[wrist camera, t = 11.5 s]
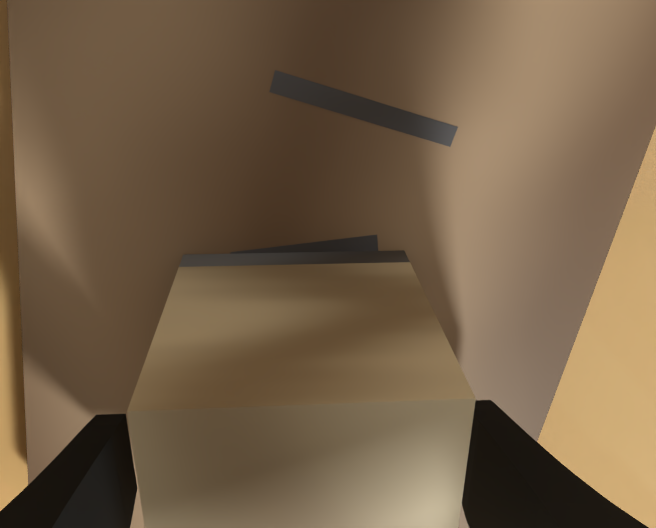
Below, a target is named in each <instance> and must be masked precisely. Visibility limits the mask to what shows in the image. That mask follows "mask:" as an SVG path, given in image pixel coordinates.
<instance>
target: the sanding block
mask: <svg viewBox="0 0 656 528" xmlns="http://www.w3.org/2000/svg"><path fill="white" fill-rule="evenodd" d="M475 401H476V398H475V396H474V394H473V392H472V389H471V387H470V385H469V383H468V381H467V379H466V377H465V375H464V373H463V371H462V369H461V367H460V365H459V363H458V361H457V358H456V356H455V354H454V352H453V350H452V348H451V346H450V344H449V342H448V340H447V338H446V336H445V334H444V332H443V330H442V327H441V325H440V323H439V321H438V319H437V317H436V315H435V313H434V311H433V309H432V307H431V305H430V303H429V301H428V298H427V296H426V294H425V292H424V290H423V288H422V286H421V284H420V282H419V280H418V278H417V276H416V274H415V272H414V270H413V267H412V265H411V263H410V261H409V259H408V257H407V255H406V253H405V251H404V250H397V251H345V252H292V253H239V254H186V255H183V257H182V259H181V262H180V265H179V268H178V271H177V273H176V276H175V279H174V282H173V285H172V287H171V290H170V293H169V296H168V298H167V301H166V304H165V307H164V310H163V312H162V315H161V318H160V321H159V324H158V326H157V329H156V332H155V335H154V337H153V340H152V343H151V346H150V349H149V351H148V354H147V357H146V360H145V363H144V365H143V368H142V371H141V374H140V376H139V379H138V382H137V385H136V388H135V390H134V393H133V396H132V399H131V401H130V404H129V407H128V410H127V415H128V422H129V428H130V435H131V441H132V448H133V454H134V461H135V467H136V474H137V480H138V487H139V493H140V500H141V506H142V513H143V519H144V526H145V528H458V526H459V519H460V511H461V504H462V497H463V489H464V482H465V475H466V467H467V460H468V453H469V445H470V438H471V430H472V423H473V416H474V408H475Z"/></svg>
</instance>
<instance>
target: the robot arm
mask: <svg viewBox="0 0 656 528" xmlns="http://www.w3.org/2000/svg"><path fill="white" fill-rule="evenodd" d="M136 493H137V483H136V476H135V470H134V463H133V457H132V450H131V444H130V437H129V431H128V424H127V418H126V414H101V415H95V416H94V417H93V418H92V419H91V420H90V421H89V422H88V423H87V424H86V425H85V426H84V428H83V429H82V430H81V431H80V432H79V433H78V434H77V435H76V436H75V437H74V438H73V439H72V440H71V441H70V443H69V444H68V445H67V446H66V447H65V448H64V449H63V450H62V451H61V452H60V453H59V454H58V455H57V456H56V457H55V458H54V459H53V461H52V462H51V463H50V464H49V465H48V466H47V467H46V468H45V469H44V470H43V471H42V472H41V473H40V474H39V475H38V476H37V477H36V478H35V479H34V480H33V481H32V482H31V483H30V484H29V485H28V486H27V487H26V488H25V489H24V490H23V491H22V492H21V493H20V494H19V495H18V496H16V497H15V498H14V499H13V500H12V501H11V502H10V503H9V504H8V505H7V506H6V507H5V508H4V509H2V510H1V511H0V528H130V526H131V521H132V516H133V510H134V505H135V499H136ZM462 507H463V510H464V514H465V518H466V520H467V523H468V526H469V528H648V527H647V526H645V525H644V524H642V523H641V522H639V521H638V520H636V519H635V518H633V517H632V516H630V515H629V514H627V513H626V512H624V511H623V510H621V509H620V508H619V507H617V506H616V505H614V504H613V503H611V502H610V501H609V500H607V499H606V498H605V497H603V496H602V495H600V494H599V493H598V492H597V491H595V490H594V489H593V488H591V487H590V486H589V485H588V484H586V483H585V482H584V481H582V480H581V479H580V478H579V477H577V476H576V475H575V474H574V473H572V472H571V471H570V470H569V469H568V468H566V467H565V466H564V465H563V464H561V463H560V462H559V461H558V460H557V459H556V458H554V457H553V456H552V455H551V454H550V453H549V452H548V451H546V450H545V449H544V448H543V447H542V446H541V445H540V444H538V443H537V442H536V441H535V440H534V439H533V438H532V437H531V436H530V435H529V434H527V433H526V432H525V431H524V430H523V429H522V428H521V427H520V426H519V425H518V424H517V423H516V422H514V421H513V420H512V419H511V418H510V417H509V416H508V415H507V414H506V413H505V412H504V411H503V410H502V409H500V408H499V407H498V406H497V405H496V404H495V403H494V402H493V401H492V400H476V401H475V408H474V416H473V423H472V430H471V438H470V445H469V453H468V460H467V467H466V475H465V482H464V489H463V497H462Z"/></svg>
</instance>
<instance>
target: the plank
mask: <svg viewBox="0 0 656 528" xmlns="http://www.w3.org/2000/svg"><path fill="white" fill-rule="evenodd" d="M7 10H8V33H9V56H10V78H11V101H12V124H13V147H14V169H15V192H16V215H17V237H18V260H19V283H20V305H21V328H22V351H23V373H24V396H25V419H26V441H27V464H28V485H29V484H30V483H31V482H32V481H33V480H34V479H35V478H36V477H37V476H38V475H39V474H40V473H41V472H42V471H43V470H44V469H45V468H46V467H47V466H48V465H49V464H50V463H51V462H52V461H53V459H54V458H55V457H56V456H57V455H58V454H59V453H60V452H61V451H62V450H63V449H64V448H65V447H66V446H67V445H68V444H69V443H70V441H71V440H72V439H73V438H74V437H75V436H76V435H77V434H78V433H79V432H80V431H81V430H82V429H83V428H84V426H85V425H86V424H87V423H88V422H89V421H90V420H91V419H92V418H93V417H94V416H95V415H101V414H126V418H127V424H128V431H129V437H130V444H131V450H132V457H133V463H134V470H135V476H136V483H137V493H136V499H135V505H134V510H133V516H132V521H131V526H130V528H145V526H144V519H143V513H142V506H141V500H140V493H139V487H138V480H137V474H136V467H135V461H134V454H133V448H132V441H131V435H130V428H129V422H128V415H127V410H128V407H129V404H130V401H131V399H132V396H133V393H134V390H135V388H136V385H137V382H138V379H139V376H140V374H141V371H142V368H143V365H144V363H145V360H146V357H147V354H148V351H149V349H150V346H151V343H152V340H153V337H154V335H155V332H156V329H157V326H158V324H159V321H160V318H161V315H162V312H163V310H164V307H165V304H166V301H167V298H168V296H169V293H170V290H171V287H172V285H173V282H174V279H175V276H176V273H177V271H178V268H179V265H180V262H181V259H182V257H183V255H186V254H239V253H292V252H345V251H397V250H404V251H405V253H406V255H407V257H408V259H409V261H410V263H411V265H412V267H413V270H414V272H415V274H416V276H417V278H418V280H419V282H420V284H421V286H422V288H423V290H424V292H425V294H426V296H427V298H428V301H429V303H430V305H431V307H432V309H433V311H434V313H435V315H436V317H437V319H438V321H439V323H440V325H441V327H442V330H443V332H444V334H445V336H446V338H447V340H448V342H449V344H450V346H451V348H452V350H453V352H454V354H455V356H456V358H457V361H458V363H459V365H460V367H461V369H462V371H463V373H464V375H465V377H466V379H467V381H468V383H469V385H470V387H471V389H472V392H473V394H474V396H475V398H476V400H492V401H493V402H494V403H495V404H496V405H497V406H498V407H499V408H500V409H502V410H503V411H504V412H505V413H506V414H507V415H508V416H509V417H510V418H511V419H512V420H513V421H514V422H516V423H517V424H518V425H519V426H520V427H521V428H522V429H523V430H524V431H525V432H526V433H527V434H529V435H530V436H531V437H532V438H533V439H534V440H535V441H536V442H537V440H538V438H539V435H540V432H541V430H542V427H543V424H544V422H545V419H546V416H547V414H548V411H549V408H550V406H551V403H552V400H553V398H554V395H555V392H556V390H557V387H558V384H559V382H560V379H561V376H562V374H563V371H564V368H565V366H566V363H567V360H568V358H569V355H570V353H571V350H572V347H573V345H574V342H575V339H576V337H577V334H578V331H579V329H580V326H581V323H582V321H583V318H584V315H585V313H586V310H587V307H588V305H589V302H590V299H591V297H592V294H593V291H594V289H595V286H596V283H597V281H598V278H599V275H600V273H601V270H602V267H603V265H604V262H605V259H606V257H607V254H608V251H609V249H610V246H611V243H612V241H613V238H614V235H615V233H616V230H617V227H618V225H619V222H620V219H621V217H622V214H623V211H624V209H625V206H626V204H627V201H628V198H629V196H630V193H631V190H632V188H633V185H634V182H635V180H636V177H637V174H638V172H639V169H640V166H641V164H642V161H643V158H644V156H645V153H646V150H647V148H648V145H649V142H650V140H651V137H652V134H653V132H654V129H655V126H656V0H7ZM458 528H469V526H468V523H467V520H466V518H465V514H464V510H463V507H462V504H461V511H460V519H459V526H458Z"/></svg>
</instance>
